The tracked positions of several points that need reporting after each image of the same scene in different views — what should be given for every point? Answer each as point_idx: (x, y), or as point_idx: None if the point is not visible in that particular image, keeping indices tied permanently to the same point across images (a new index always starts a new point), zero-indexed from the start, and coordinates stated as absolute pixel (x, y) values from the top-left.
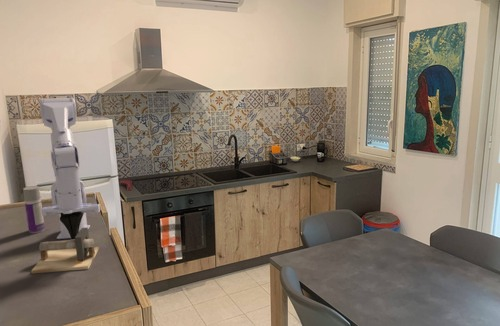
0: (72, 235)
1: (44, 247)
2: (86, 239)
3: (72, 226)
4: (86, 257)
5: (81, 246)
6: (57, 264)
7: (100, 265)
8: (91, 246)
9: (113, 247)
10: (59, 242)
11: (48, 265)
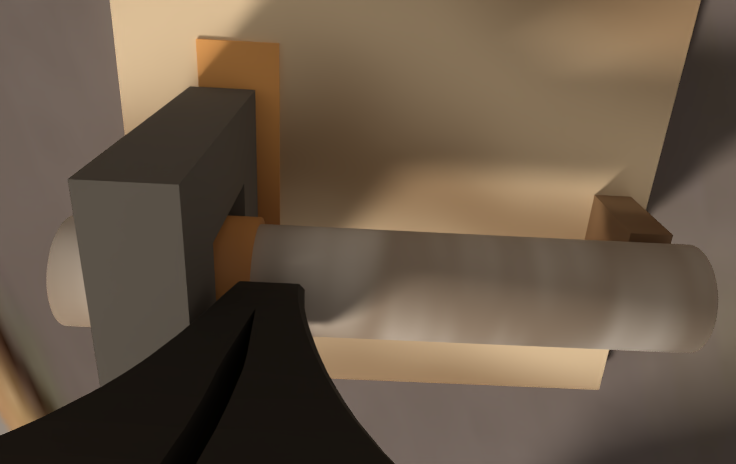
0: (265, 304)
1: (644, 252)
2: None
3: (193, 391)
4: None
5: (139, 128)
6: (456, 72)
7: (11, 2)
8: None
9: (34, 362)
10: (471, 291)
11: (545, 70)
